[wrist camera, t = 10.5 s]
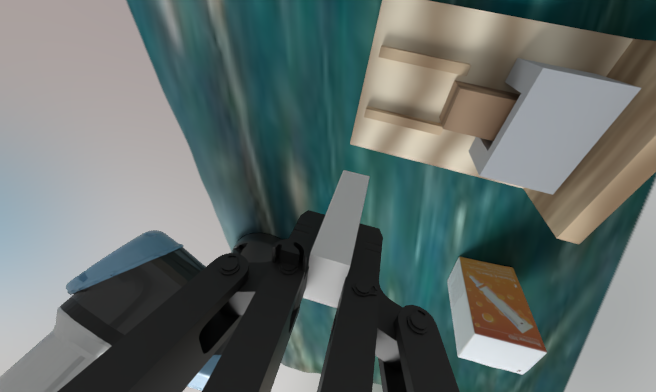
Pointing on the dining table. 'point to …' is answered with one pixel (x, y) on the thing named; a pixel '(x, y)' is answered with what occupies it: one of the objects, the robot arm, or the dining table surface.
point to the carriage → (550, 125)
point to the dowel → (476, 110)
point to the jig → (492, 71)
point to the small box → (492, 317)
